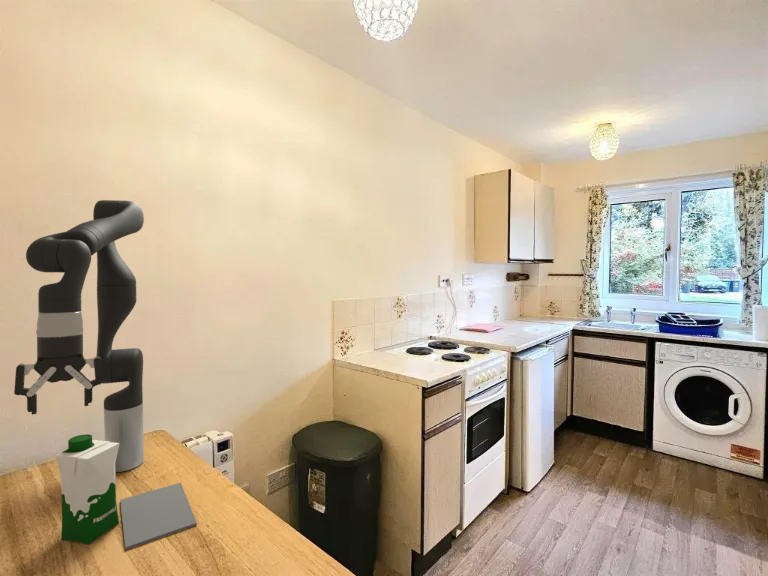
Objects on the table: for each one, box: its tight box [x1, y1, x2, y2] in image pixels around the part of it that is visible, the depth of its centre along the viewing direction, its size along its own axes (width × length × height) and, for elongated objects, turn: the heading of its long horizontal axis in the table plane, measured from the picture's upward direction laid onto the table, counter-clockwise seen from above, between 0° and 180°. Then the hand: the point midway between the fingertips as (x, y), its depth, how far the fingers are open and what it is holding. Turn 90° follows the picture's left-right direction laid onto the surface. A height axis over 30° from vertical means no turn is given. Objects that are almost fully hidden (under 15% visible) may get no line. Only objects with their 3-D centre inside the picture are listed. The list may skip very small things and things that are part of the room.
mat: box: [119, 482, 198, 551], centre depth 89 cm, size 20×13×1 cm, turn 36°
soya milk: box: [55, 434, 120, 545], centre depth 82 cm, size 9×9×20 cm
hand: (61, 409), depth 83 cm, fingers open, 8 cm apart
